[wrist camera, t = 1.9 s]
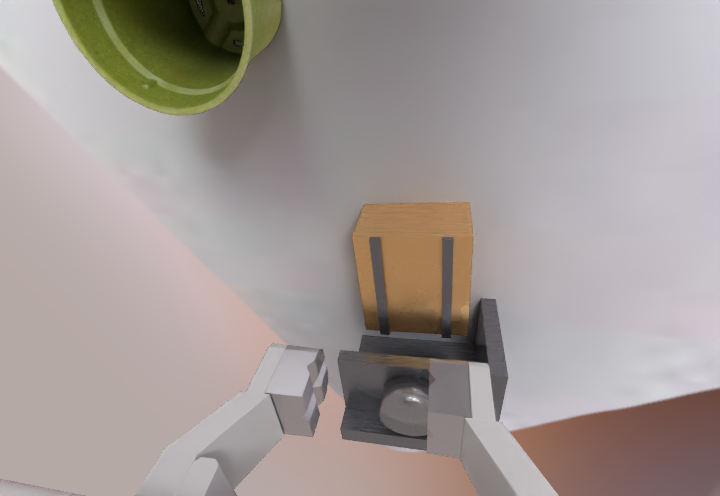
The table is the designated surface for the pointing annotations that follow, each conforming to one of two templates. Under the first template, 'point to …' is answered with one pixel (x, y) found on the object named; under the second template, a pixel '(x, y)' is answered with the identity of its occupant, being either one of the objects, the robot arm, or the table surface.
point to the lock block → (415, 267)
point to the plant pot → (171, 46)
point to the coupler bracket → (410, 381)
